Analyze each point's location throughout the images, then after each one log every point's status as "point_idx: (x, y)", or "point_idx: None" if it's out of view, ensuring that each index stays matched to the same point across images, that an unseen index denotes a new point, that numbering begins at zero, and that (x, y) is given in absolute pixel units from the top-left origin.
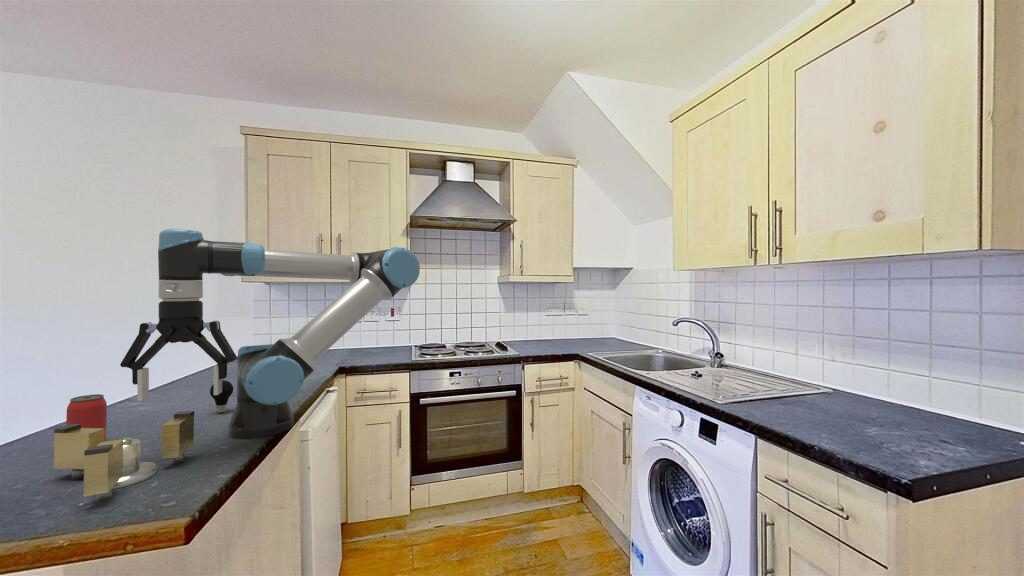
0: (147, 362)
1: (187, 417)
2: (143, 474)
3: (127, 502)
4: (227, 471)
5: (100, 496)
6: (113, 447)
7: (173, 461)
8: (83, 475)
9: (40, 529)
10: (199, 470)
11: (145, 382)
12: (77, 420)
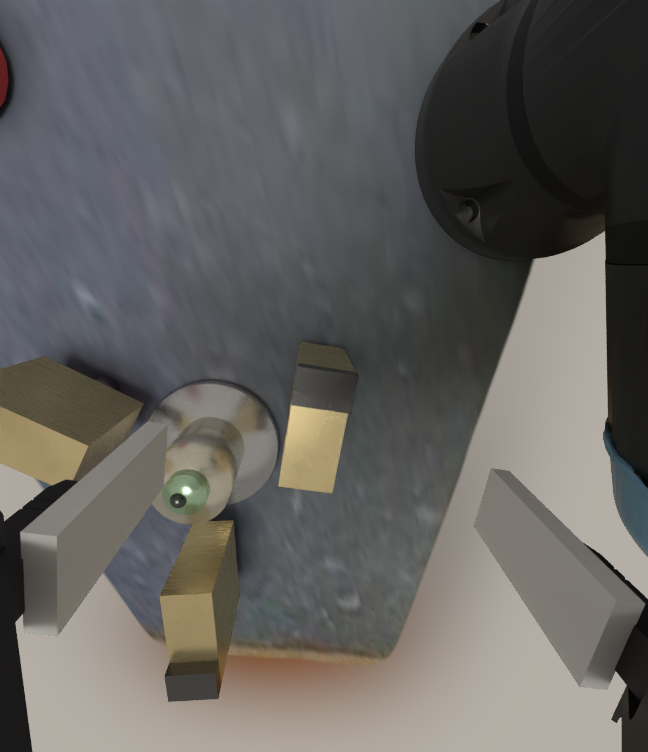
0: (10, 588)
1: (341, 414)
2: (264, 480)
3: (274, 569)
4: (434, 495)
5: None
6: (217, 653)
7: None
8: None
9: None
10: (374, 463)
11: (122, 510)
12: None
